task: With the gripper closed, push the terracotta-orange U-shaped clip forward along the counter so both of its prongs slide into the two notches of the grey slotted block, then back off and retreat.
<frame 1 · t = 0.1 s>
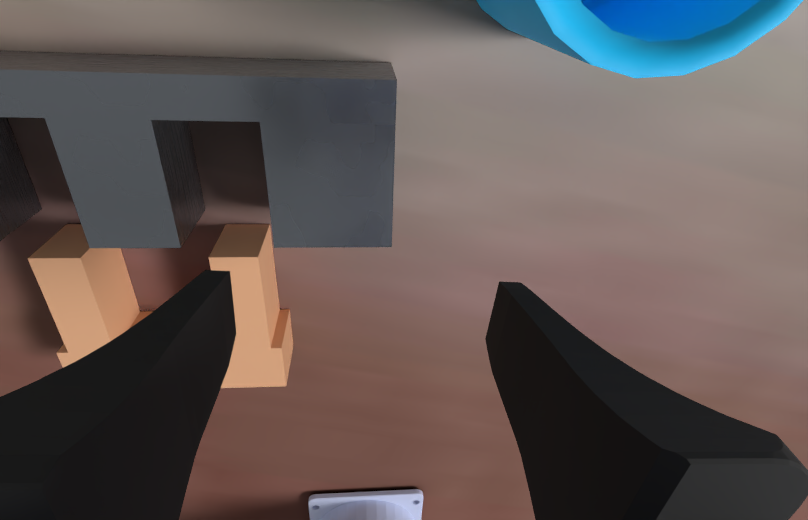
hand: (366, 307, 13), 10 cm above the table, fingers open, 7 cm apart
clip: (195, 329, 25), on the table
grey slotted block: (148, 132, 20), on the table
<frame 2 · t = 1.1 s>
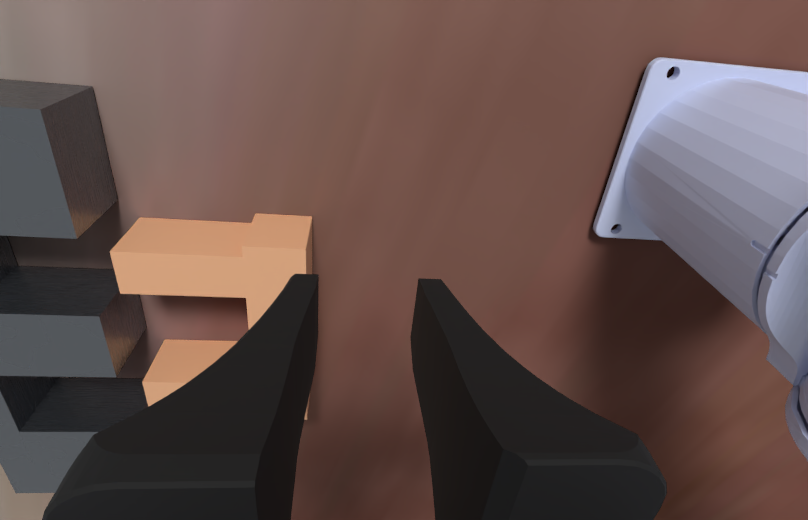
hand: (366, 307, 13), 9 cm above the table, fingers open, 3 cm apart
clip: (287, 304, 24), on the table
grey slotted block: (63, 297, 23), on the table
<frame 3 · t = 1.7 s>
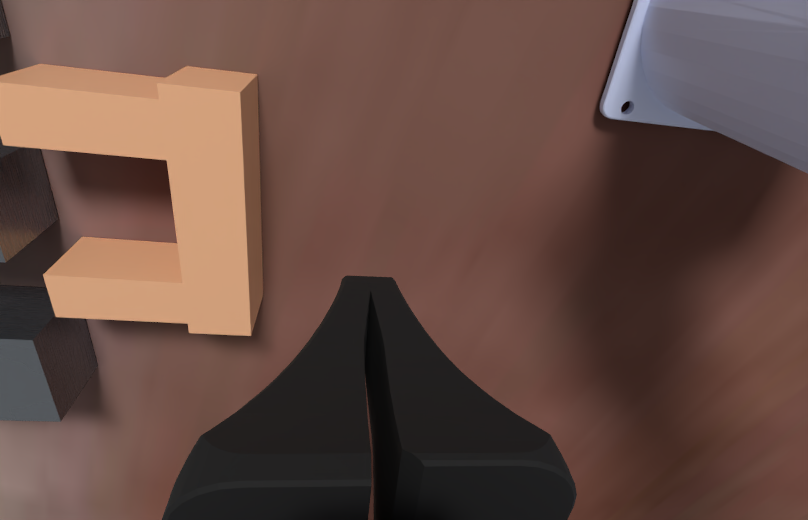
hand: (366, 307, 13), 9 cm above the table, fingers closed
clip: (230, 195, 20), on the table
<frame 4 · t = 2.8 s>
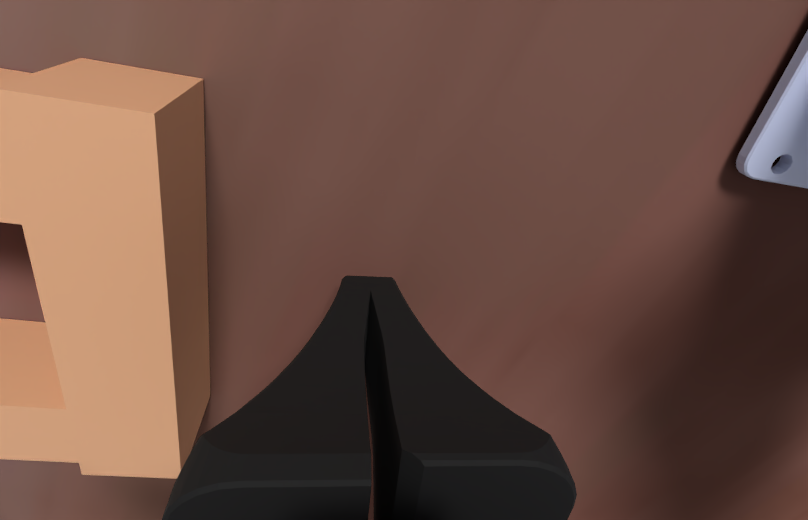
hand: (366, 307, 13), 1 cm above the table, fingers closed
clip: (159, 261, 13), on the table
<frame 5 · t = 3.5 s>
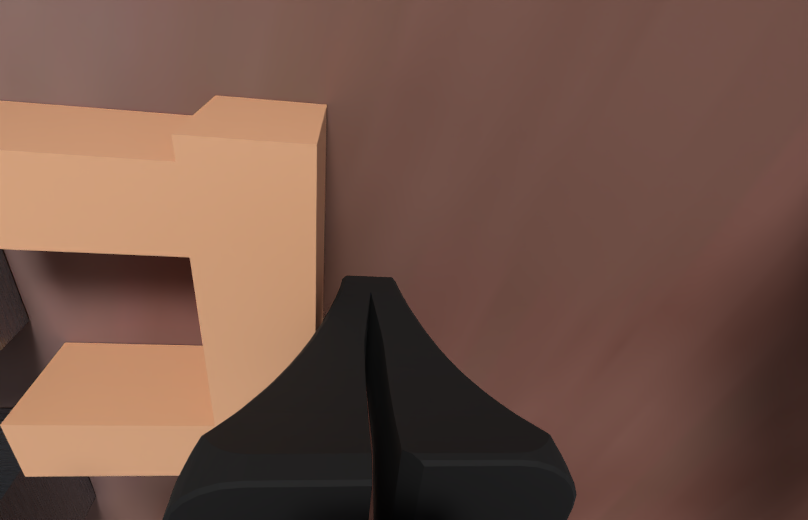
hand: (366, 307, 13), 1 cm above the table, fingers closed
clip: (279, 280, 14), on the table, touching gripper
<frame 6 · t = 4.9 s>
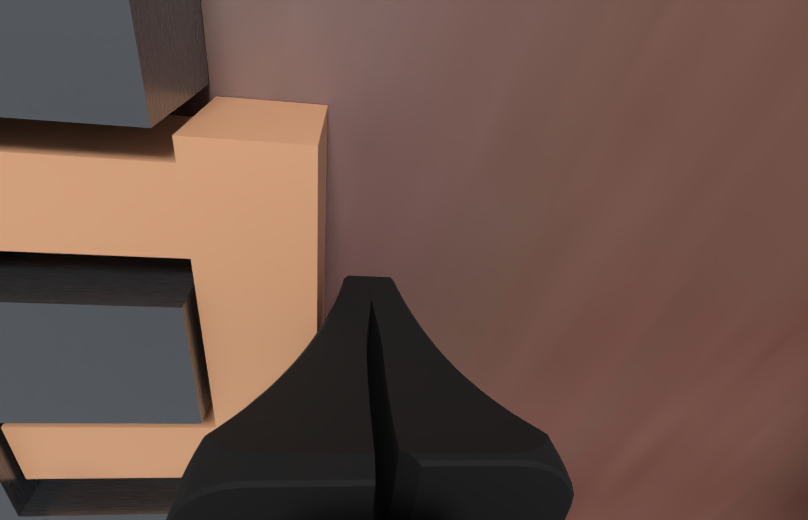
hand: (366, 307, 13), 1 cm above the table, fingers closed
clip: (280, 281, 14), resting in grey slotted block, touching gripper
grey slotted block: (96, 276, 13), on the table
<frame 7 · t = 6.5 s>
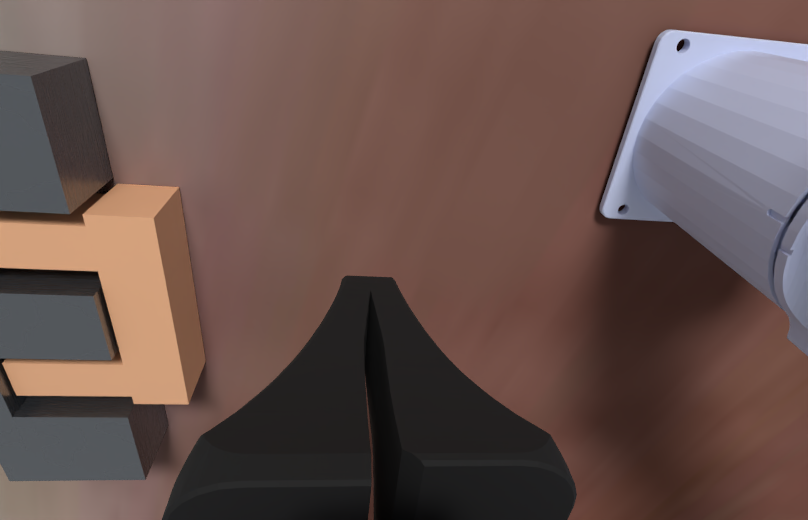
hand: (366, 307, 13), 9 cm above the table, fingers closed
clip: (166, 282, 23), resting in grey slotted block
grey slotted block: (57, 279, 22), on the table
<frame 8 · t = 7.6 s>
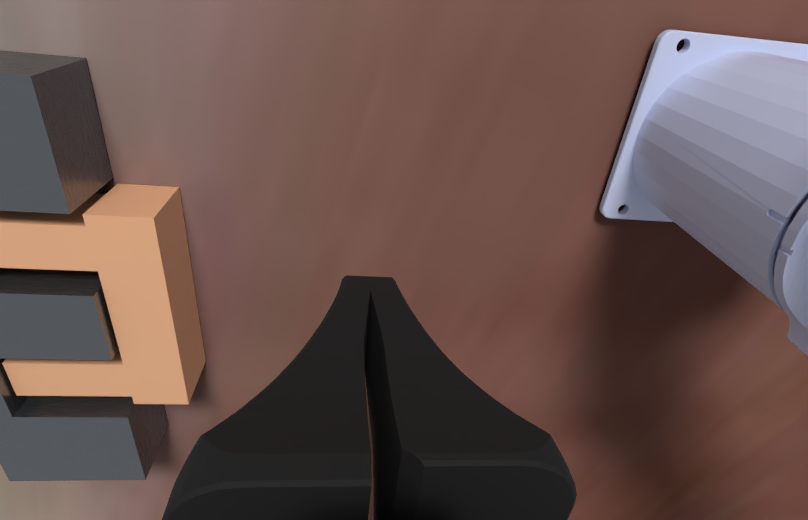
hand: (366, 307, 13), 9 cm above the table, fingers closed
clip: (166, 282, 23), resting in grey slotted block
grey slotted block: (57, 279, 22), on the table
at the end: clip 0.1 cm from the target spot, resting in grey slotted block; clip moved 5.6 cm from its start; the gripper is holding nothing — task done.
